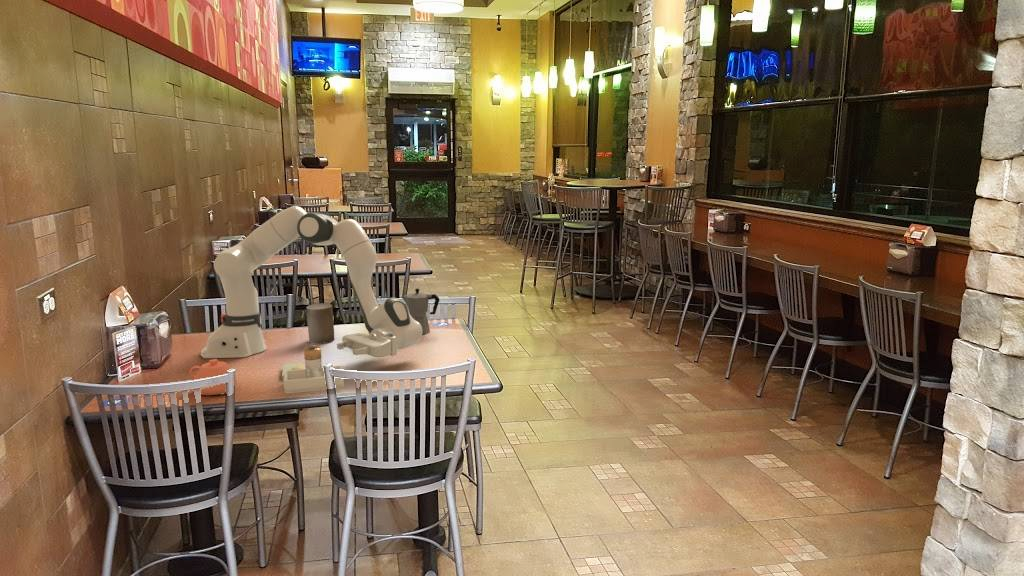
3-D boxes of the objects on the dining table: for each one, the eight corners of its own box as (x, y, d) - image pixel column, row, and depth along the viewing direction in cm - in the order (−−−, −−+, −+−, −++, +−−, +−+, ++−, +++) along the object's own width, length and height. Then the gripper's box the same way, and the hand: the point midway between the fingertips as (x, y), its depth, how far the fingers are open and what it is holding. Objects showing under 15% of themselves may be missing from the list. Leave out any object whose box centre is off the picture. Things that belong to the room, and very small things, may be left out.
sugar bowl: (230, 398, 209) (227, 365, 207) (182, 399, 208) (178, 366, 206) (242, 384, 221) (240, 353, 219) (197, 385, 220) (194, 354, 218)
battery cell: (306, 385, 216) (303, 348, 214) (306, 380, 221) (303, 344, 219) (323, 383, 218) (320, 346, 215) (322, 378, 222) (320, 342, 220)
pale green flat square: (282, 380, 224) (281, 375, 224) (283, 368, 236) (283, 364, 235) (320, 376, 228) (320, 372, 227) (320, 365, 239) (319, 361, 239)
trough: (284, 393, 212) (283, 381, 211) (285, 382, 222) (285, 370, 221) (344, 388, 217) (343, 375, 216) (342, 377, 227) (341, 365, 226)
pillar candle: (337, 337, 275) (335, 299, 272) (330, 343, 265) (328, 305, 262) (313, 337, 275) (310, 300, 272) (305, 344, 266) (302, 305, 263)
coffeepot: (400, 335, 277) (398, 290, 274) (404, 329, 287) (403, 286, 283) (438, 335, 277) (437, 291, 273) (441, 329, 286) (440, 286, 282)
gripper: (363, 326, 242) (328, 334, 232) (398, 337, 228) (363, 346, 218) (363, 344, 243) (329, 352, 234) (399, 356, 229) (364, 365, 220)
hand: (345, 349), depth 226 cm, fingers open, 8 cm apart
